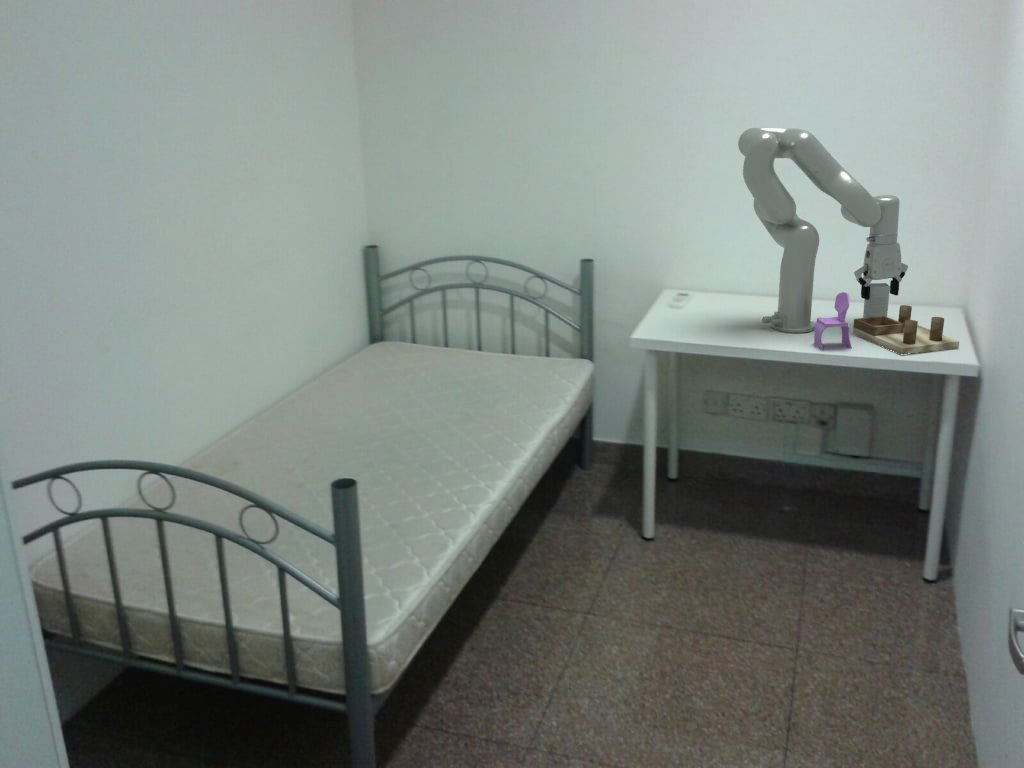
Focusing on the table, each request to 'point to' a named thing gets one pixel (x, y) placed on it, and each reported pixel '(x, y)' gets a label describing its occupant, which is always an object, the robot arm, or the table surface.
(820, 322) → the toy chair
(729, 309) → the table surface
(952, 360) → the table surface
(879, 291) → the skincare box
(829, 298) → the table surface
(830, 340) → the table surface
